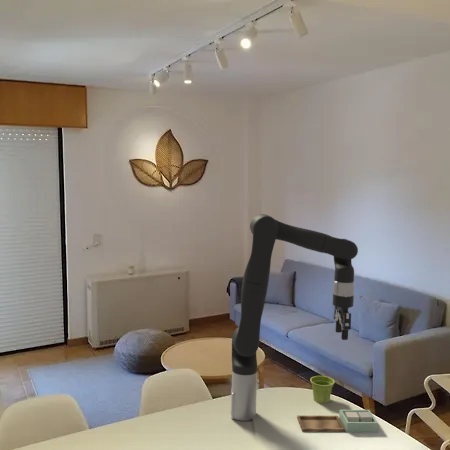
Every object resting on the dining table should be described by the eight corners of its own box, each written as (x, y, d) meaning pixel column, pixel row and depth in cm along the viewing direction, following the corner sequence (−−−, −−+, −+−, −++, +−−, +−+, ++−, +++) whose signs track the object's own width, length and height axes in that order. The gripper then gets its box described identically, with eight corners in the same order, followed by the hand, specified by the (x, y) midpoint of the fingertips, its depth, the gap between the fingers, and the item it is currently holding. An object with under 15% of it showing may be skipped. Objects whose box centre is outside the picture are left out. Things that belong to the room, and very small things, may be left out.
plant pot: (335, 407, 199) (336, 385, 198) (311, 406, 199) (312, 384, 198) (331, 396, 208) (332, 376, 207) (307, 396, 208) (308, 375, 207)
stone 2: (360, 428, 181) (361, 417, 181) (356, 422, 185) (357, 412, 185) (371, 427, 182) (372, 417, 181) (367, 422, 186) (368, 411, 185)
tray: (302, 433, 178) (302, 429, 178) (297, 419, 188) (297, 415, 188) (344, 433, 179) (344, 429, 179) (337, 419, 189) (337, 415, 189)
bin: (346, 433, 178) (347, 422, 178) (339, 420, 188) (339, 409, 188) (377, 433, 179) (378, 422, 178) (368, 420, 189) (369, 409, 188)
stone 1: (347, 427, 181) (348, 417, 181) (344, 422, 185) (345, 411, 185) (358, 428, 181) (359, 417, 181) (355, 422, 185) (356, 412, 185)
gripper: (328, 288, 196) (326, 329, 198) (338, 297, 182) (336, 342, 184) (348, 288, 196) (346, 330, 198) (359, 298, 182) (357, 342, 184)
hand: (341, 335), depth 191 cm, fingers open, 8 cm apart
